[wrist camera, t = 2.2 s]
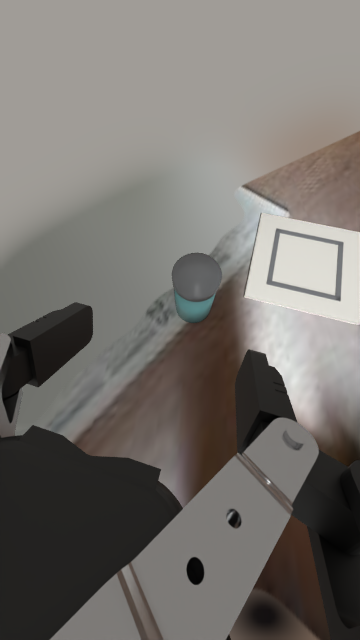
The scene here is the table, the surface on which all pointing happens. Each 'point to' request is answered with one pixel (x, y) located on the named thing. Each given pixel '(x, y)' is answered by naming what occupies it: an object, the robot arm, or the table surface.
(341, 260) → the card
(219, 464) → the table surface
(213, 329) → the table surface
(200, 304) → the teal jar
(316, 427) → the table surface
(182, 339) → the table surface
